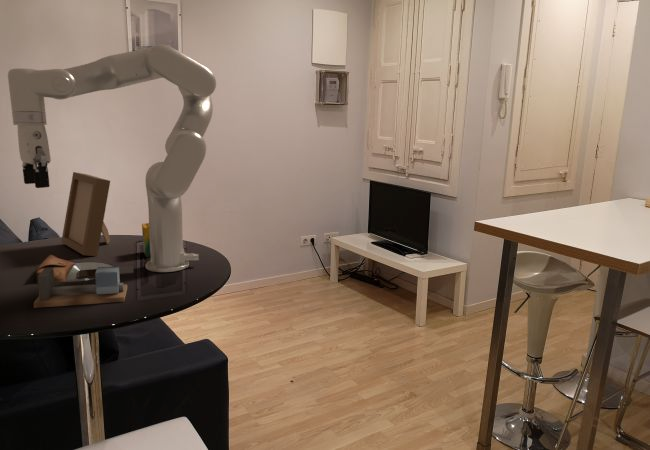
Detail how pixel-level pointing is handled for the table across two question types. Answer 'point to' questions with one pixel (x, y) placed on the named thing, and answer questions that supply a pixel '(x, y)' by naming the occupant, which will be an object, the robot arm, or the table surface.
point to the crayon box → (146, 239)
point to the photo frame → (86, 214)
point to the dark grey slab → (46, 283)
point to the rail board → (80, 296)
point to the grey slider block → (107, 280)
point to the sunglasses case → (55, 268)
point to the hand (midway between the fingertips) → (36, 185)
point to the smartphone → (91, 272)
